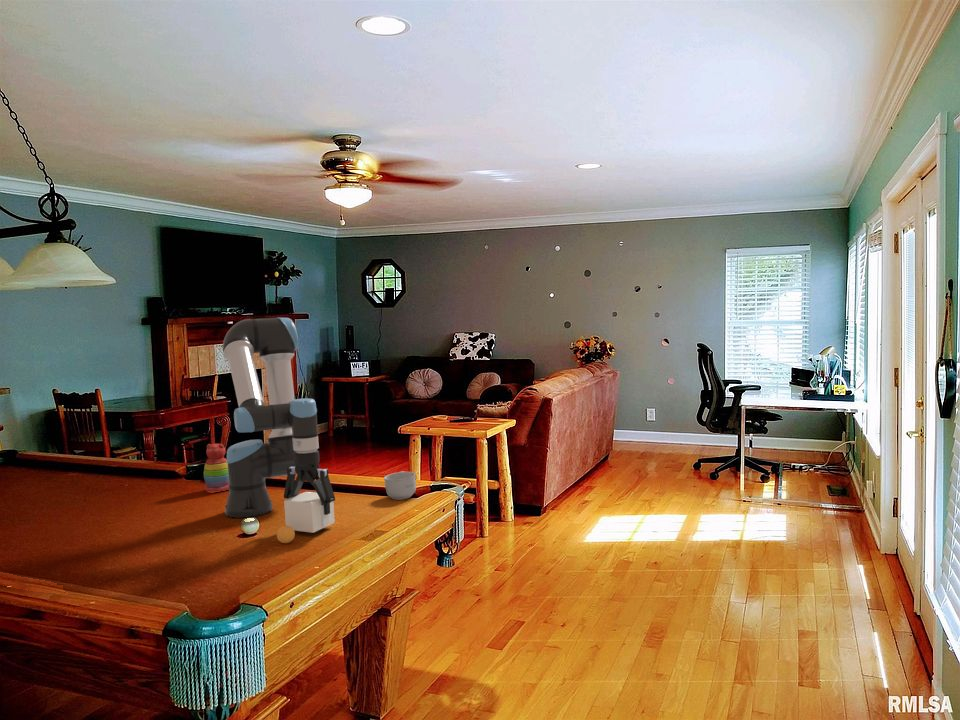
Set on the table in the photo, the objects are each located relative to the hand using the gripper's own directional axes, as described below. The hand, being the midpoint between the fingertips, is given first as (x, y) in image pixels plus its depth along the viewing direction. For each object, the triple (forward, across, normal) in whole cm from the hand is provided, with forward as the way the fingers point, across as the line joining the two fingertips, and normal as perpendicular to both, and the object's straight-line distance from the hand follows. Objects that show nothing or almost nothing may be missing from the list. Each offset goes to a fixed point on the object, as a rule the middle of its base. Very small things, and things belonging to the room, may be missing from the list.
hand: (310, 523), depth 222 cm
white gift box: (+1, 0, 0) cm, 1 cm away
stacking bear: (+3, -67, +29) cm, 73 cm away
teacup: (+3, +6, +42) cm, 42 cm away
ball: (0, 0, -12) cm, 12 cm away
